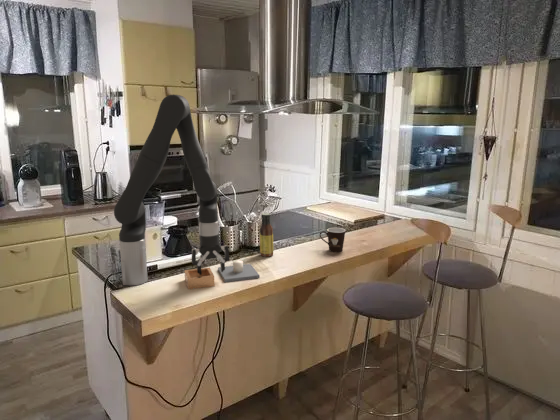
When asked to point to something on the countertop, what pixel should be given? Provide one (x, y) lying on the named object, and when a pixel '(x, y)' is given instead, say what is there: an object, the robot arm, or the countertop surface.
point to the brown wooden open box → (199, 278)
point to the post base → (239, 276)
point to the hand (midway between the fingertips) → (211, 272)
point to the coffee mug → (335, 239)
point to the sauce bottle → (266, 236)
